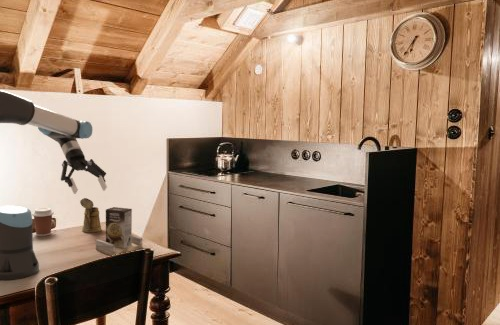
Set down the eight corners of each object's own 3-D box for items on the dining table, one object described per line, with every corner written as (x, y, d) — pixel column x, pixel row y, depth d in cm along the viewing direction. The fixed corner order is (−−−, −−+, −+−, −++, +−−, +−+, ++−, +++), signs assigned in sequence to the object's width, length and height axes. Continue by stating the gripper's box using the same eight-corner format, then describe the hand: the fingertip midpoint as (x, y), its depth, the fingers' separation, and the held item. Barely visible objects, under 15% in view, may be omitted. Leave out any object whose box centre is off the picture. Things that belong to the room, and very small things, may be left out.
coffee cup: (31, 233, 203) (31, 208, 202) (52, 230, 208) (51, 206, 207) (34, 237, 196) (33, 212, 194) (55, 235, 201) (55, 210, 199)
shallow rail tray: (112, 255, 173) (112, 245, 173) (95, 249, 180) (95, 239, 180) (142, 247, 185) (142, 238, 184) (125, 242, 192) (125, 233, 192)
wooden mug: (75, 235, 201) (74, 197, 199) (86, 228, 214) (85, 192, 213) (94, 235, 201) (94, 198, 199) (104, 228, 215) (103, 193, 213)
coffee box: (105, 246, 180) (104, 209, 179) (113, 242, 187) (113, 206, 185) (124, 249, 178) (124, 211, 176) (132, 244, 184) (132, 208, 183)
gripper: (95, 157, 204) (113, 192, 196) (42, 159, 185) (59, 198, 177) (101, 147, 200) (119, 182, 192) (48, 148, 181) (65, 187, 173)
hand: (91, 190), depth 184 cm, fingers open, 13 cm apart
